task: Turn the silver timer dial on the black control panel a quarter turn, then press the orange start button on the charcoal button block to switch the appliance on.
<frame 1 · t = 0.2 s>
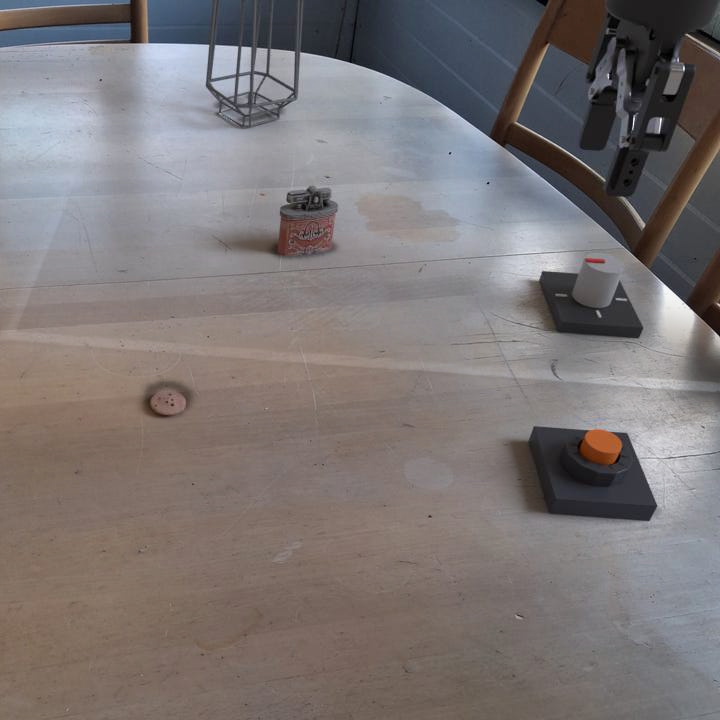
hand: (602, 170, 73), 32 cm above the table, tool pointing down, fingers open, 8 cm apart
button block: (586, 479, 93), on the table
dial panel: (583, 318, 116), on the table
geometric lantern: (249, 118, 157), on the table
cookie: (168, 407, 98), on the table
lighter: (303, 259, 123), on the table
start button: (600, 447, 90), point 4 cm above the table, slide at 0.1 cm
timer dial: (598, 279, 112), point 6 cm above the table, hinge at 0.0°
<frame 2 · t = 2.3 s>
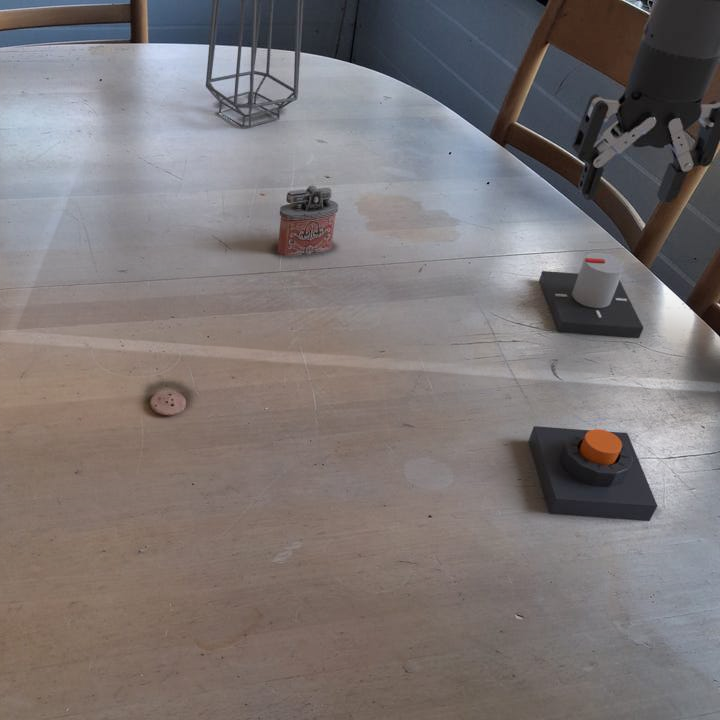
hand: (625, 198, 98), 19 cm above the table, tool pointing down, fingers open, 8 cm apart
nothing on the table moved.
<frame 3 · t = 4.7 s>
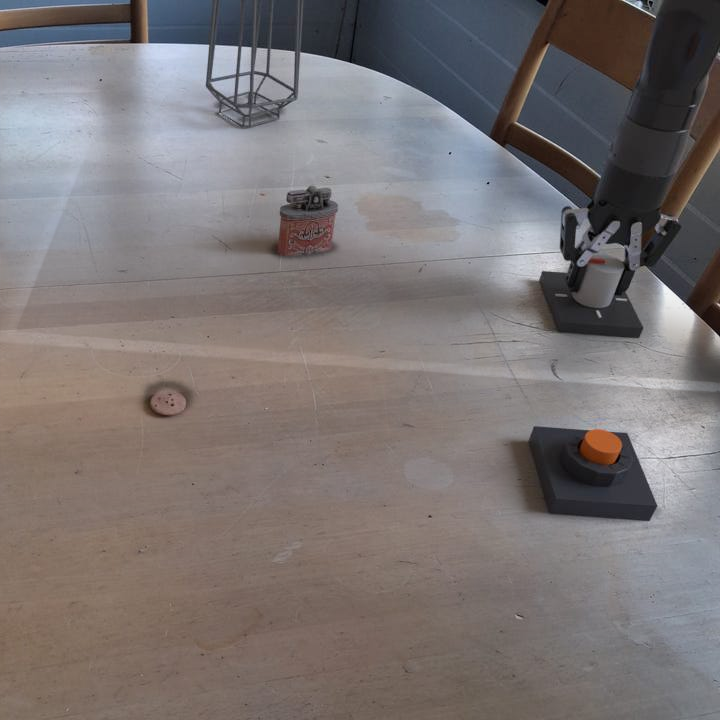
hand: (594, 290, 113), 4 cm above the table, tool pointing down, fingers closed on timer dial, 5 cm apart
timer dial: (598, 279, 112), point 6 cm above the table, hinge at -0.1°, touching gripper
everything else where it was.
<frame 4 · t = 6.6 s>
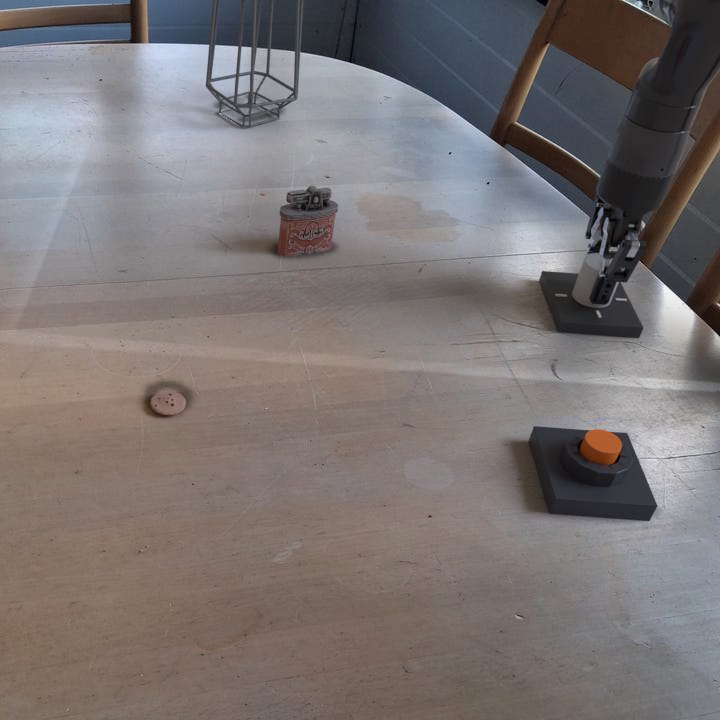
hand: (592, 290, 113), 4 cm above the table, tool pointing down, fingers closed on timer dial, 5 cm apart
timer dial: (598, 279, 112), point 6 cm above the table, hinge at 91.2°, touching gripper
everything else where it was.
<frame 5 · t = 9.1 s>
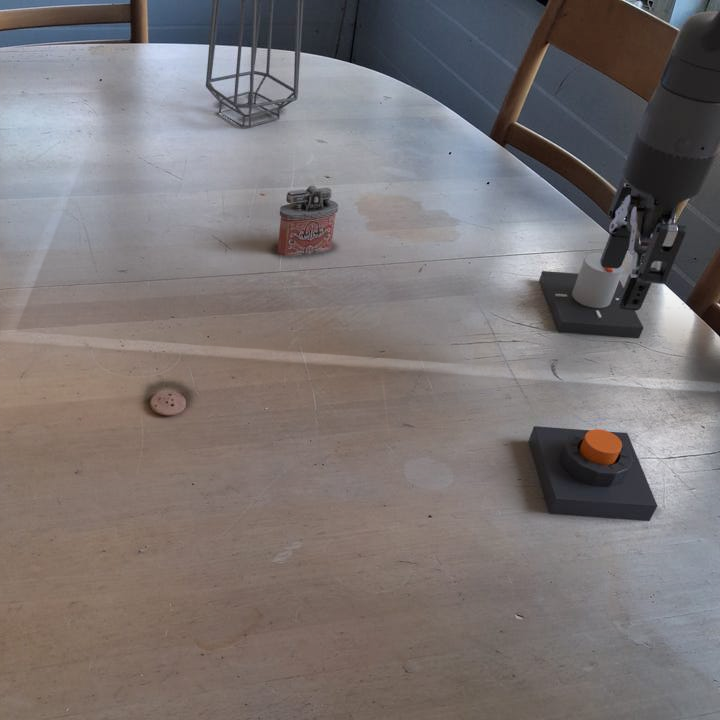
hand: (618, 286, 96), 13 cm above the table, tool pointing down, fingers open, 8 cm apart
timer dial: (598, 279, 112), point 6 cm above the table, hinge at 91.3°
everything else where it was.
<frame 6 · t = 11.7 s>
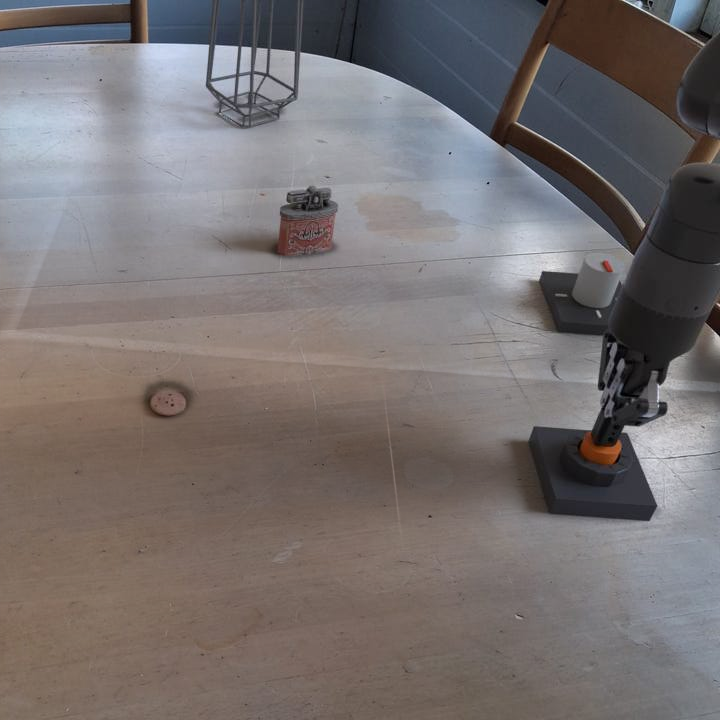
hand: (601, 441, 90), 5 cm above the table, tool pointing down, fingers closed
start button: (600, 448, 90), point 4 cm above the table, slide at 0.0 cm, touching gripper
everything else where it was.
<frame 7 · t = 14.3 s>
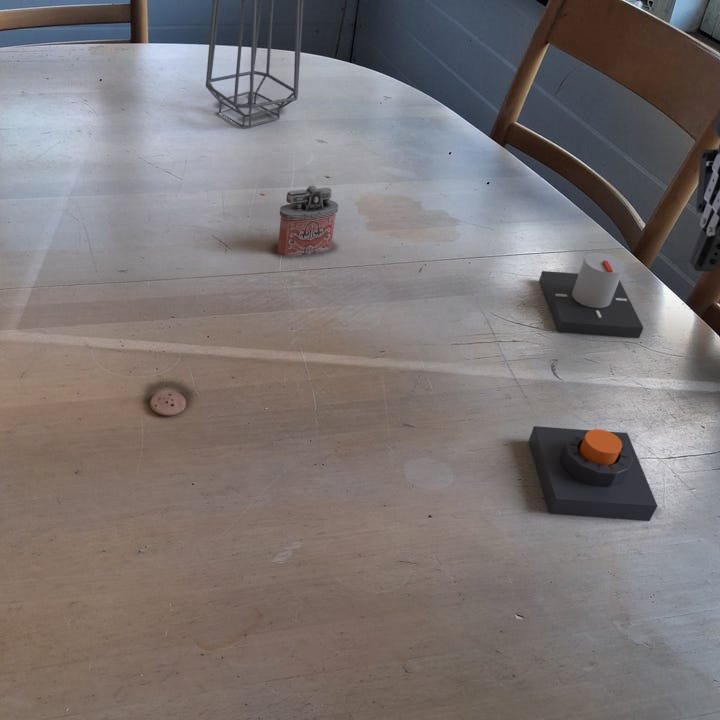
hand: (701, 267, 88), 19 cm above the table, tool pointing down, fingers closed
start button: (600, 447, 90), point 4 cm above the table, slide at 0.1 cm
everything else where it was.
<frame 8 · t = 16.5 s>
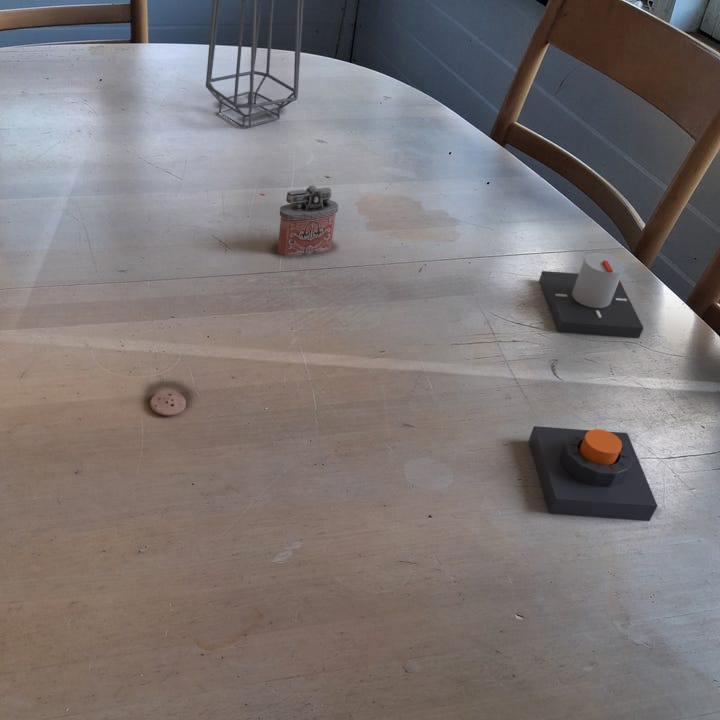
nothing on the table moved.
at the end: timer dial at +91° (first picture: +0°); start button pushed in 1.1 cm at the most during the clip, back to where it started at the end; start button slide at 0.1 cm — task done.
